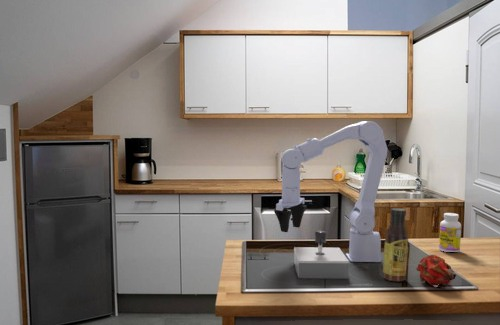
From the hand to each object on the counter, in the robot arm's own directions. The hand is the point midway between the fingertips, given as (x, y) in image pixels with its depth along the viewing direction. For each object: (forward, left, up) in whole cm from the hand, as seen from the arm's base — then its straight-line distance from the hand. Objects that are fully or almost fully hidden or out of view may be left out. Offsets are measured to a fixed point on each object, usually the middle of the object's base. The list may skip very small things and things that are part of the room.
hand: (290, 229), depth 150 cm
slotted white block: (-8, +12, -9) cm, 17 cm away
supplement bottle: (-56, -10, -10) cm, 57 cm away
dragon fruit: (-38, +23, -10) cm, 45 cm away
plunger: (-8, +12, -6) cm, 15 cm away
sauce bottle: (-28, +19, -10) cm, 35 cm away
